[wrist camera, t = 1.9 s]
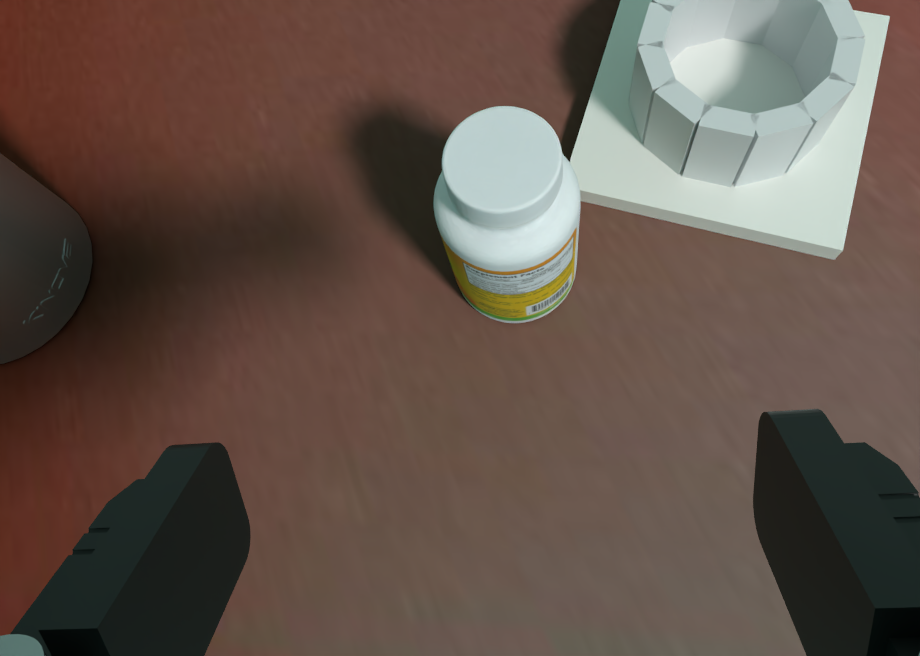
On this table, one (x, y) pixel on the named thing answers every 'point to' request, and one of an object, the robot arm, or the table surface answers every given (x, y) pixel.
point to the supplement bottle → (508, 214)
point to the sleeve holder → (734, 117)
